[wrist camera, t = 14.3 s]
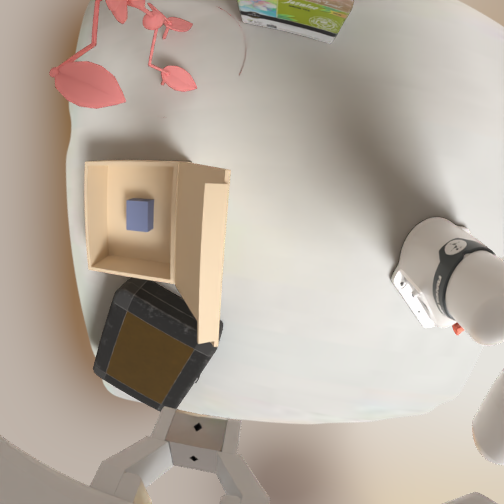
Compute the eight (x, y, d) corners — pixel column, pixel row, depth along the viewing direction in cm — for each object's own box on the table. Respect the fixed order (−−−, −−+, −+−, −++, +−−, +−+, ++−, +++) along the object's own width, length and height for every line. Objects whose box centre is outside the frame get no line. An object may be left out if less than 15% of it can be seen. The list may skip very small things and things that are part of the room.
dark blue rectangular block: (153, 228, 48) (147, 232, 46) (132, 226, 48) (126, 229, 46) (154, 199, 46) (148, 201, 44) (133, 198, 47) (126, 200, 44)
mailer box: (186, 267, 50) (174, 283, 44) (107, 256, 51) (88, 269, 44) (191, 161, 45) (178, 162, 38) (107, 159, 45) (84, 161, 39)
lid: (162, 286, 43) (178, 284, 44) (198, 352, 29) (220, 348, 31) (165, 161, 37) (183, 161, 38) (205, 169, 24) (233, 170, 25)
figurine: (157, 132, 43) (-21, 112, 10) (161, 4, 36) (60, -108, 2) (252, 124, 43) (210, 32, 9) (247, -8, 35) (222, -158, 1)
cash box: (181, 396, 61) (173, 419, 54) (105, 353, 59) (90, 373, 52) (230, 322, 54) (223, 347, 46) (135, 269, 52) (116, 285, 44)
